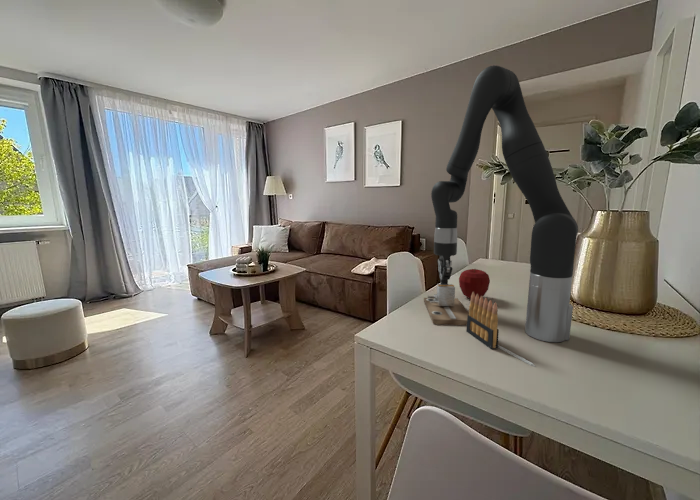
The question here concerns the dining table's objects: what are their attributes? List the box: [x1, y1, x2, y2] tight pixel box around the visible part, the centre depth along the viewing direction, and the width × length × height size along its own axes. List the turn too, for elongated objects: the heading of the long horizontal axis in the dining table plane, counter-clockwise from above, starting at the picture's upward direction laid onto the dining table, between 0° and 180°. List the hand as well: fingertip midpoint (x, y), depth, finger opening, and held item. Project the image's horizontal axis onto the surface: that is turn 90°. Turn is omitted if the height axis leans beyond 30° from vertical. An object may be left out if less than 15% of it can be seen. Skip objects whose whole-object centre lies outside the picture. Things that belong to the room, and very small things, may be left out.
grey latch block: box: [430, 283, 456, 306], centre depth 98 cm, size 8×4×7 cm, turn 84°
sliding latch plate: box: [423, 293, 469, 326], centre depth 96 cm, size 12×20×3 cm, turn 174°
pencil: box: [497, 344, 536, 368], centre depth 71 cm, size 1×1×15 cm
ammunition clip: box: [465, 292, 500, 350], centre depth 77 cm, size 11×2×12 cm, turn 12°
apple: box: [458, 268, 491, 300], centre depth 109 cm, size 11×11×12 cm
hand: (443, 289), depth 102 cm, fingers closed
